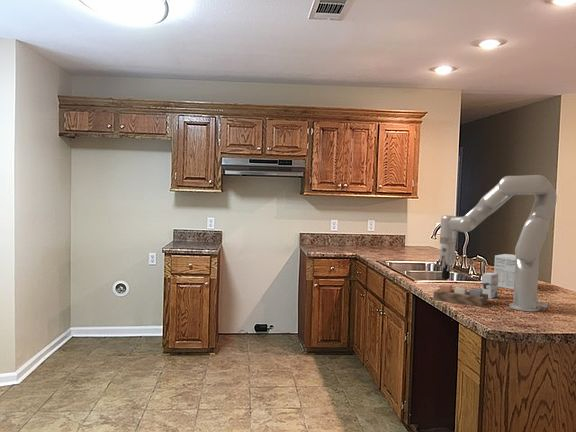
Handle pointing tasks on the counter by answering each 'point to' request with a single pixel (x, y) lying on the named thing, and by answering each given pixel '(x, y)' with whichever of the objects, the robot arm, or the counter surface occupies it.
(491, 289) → the ink box
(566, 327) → the counter surface
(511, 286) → the supplement box
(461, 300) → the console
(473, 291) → the key slate
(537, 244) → the robot arm
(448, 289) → the key terracotta
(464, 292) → the key ivory
